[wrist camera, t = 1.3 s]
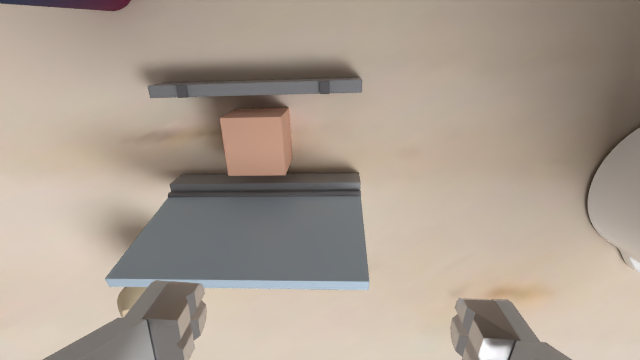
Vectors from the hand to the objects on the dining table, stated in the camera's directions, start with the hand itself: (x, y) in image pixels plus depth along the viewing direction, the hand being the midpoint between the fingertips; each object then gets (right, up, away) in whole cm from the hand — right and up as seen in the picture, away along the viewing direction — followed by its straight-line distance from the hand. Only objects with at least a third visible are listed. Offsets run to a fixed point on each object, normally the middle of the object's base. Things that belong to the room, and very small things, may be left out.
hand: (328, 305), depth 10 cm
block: (-6, +8, +21) cm, 23 cm away
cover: (-6, 0, +15) cm, 16 cm away
